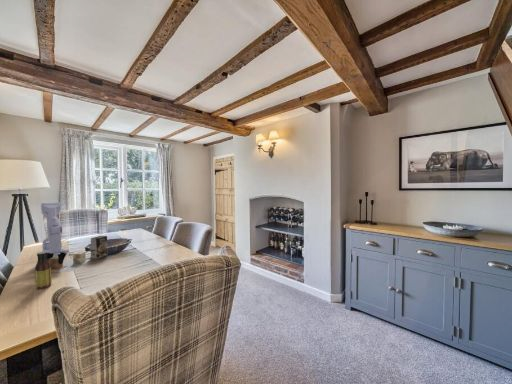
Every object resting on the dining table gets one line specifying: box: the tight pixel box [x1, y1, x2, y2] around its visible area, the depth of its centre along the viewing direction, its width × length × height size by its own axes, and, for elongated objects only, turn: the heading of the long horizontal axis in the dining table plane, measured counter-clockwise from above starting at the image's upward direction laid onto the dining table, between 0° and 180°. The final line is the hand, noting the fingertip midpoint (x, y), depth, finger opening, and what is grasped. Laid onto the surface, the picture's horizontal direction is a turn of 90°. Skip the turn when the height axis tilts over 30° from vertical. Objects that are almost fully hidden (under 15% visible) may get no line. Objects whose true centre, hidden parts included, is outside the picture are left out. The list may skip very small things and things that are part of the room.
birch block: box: [72, 251, 86, 264], centre depth 156 cm, size 5×5×7 cm
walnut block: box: [48, 257, 63, 270], centre depth 144 cm, size 5×5×7 cm
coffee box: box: [90, 235, 108, 260], centre depth 169 cm, size 9×6×16 cm
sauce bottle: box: [34, 251, 52, 290], centre depth 120 cm, size 6×6×20 cm
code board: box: [51, 259, 91, 273], centre depth 150 cm, size 17×22×1 cm
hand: (55, 263), depth 144 cm, fingers open, 6 cm apart
